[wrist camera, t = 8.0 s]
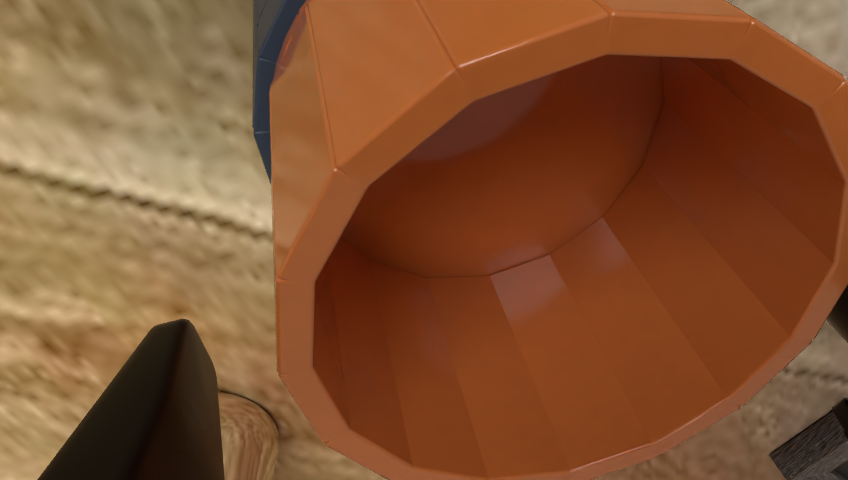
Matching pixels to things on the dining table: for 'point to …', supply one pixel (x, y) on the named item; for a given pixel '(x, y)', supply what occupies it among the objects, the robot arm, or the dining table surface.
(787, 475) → the picture frame
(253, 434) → the beer glass
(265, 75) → the jar
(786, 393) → the dining table surface
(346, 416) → the cup
